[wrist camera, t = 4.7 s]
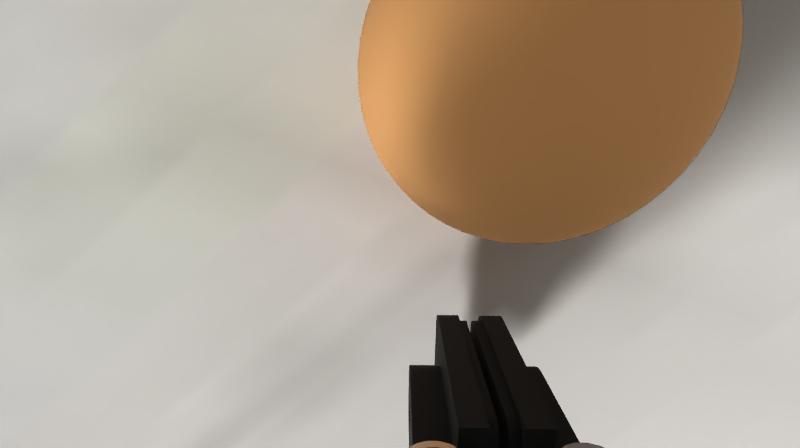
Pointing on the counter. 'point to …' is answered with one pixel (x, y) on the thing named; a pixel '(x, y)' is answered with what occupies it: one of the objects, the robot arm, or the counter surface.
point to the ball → (543, 105)
